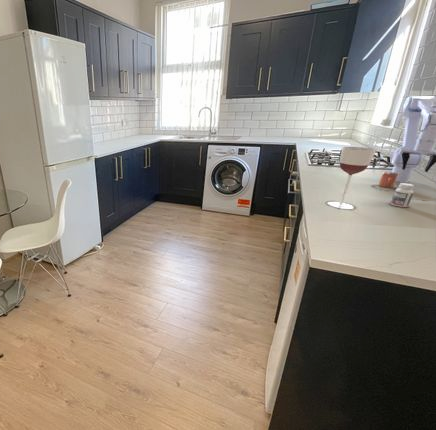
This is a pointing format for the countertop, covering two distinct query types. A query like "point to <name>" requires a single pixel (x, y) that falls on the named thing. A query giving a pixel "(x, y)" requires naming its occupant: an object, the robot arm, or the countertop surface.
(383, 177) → the mug
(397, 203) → the pill bottle
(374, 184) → the countertop surface
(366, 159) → the wineglass
